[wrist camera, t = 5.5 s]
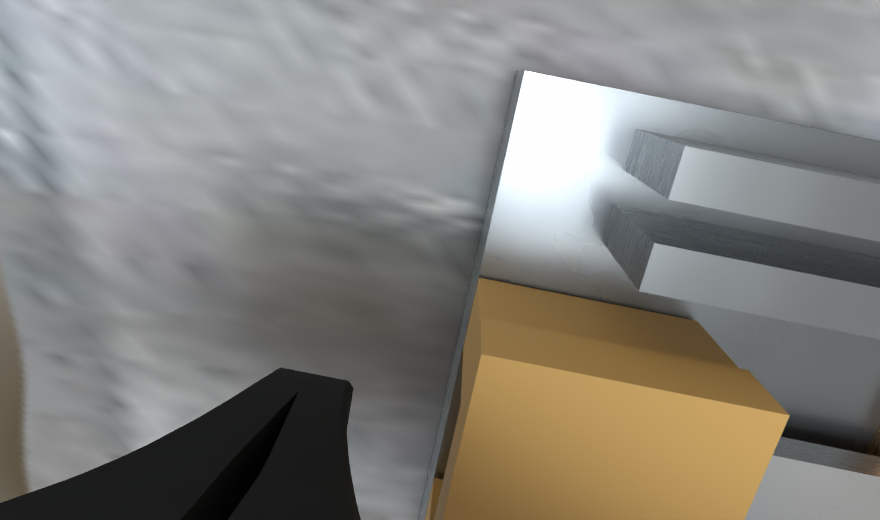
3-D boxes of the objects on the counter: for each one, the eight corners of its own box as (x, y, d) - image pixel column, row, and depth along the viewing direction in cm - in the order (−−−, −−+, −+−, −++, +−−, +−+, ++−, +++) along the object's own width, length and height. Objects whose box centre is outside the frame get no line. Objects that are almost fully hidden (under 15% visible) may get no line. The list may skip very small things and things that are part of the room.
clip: (606, 572, 12) (649, 736, 9) (421, 536, 12) (402, 687, 9) (699, 316, 10) (789, 415, 7) (480, 272, 10) (481, 353, 7)
